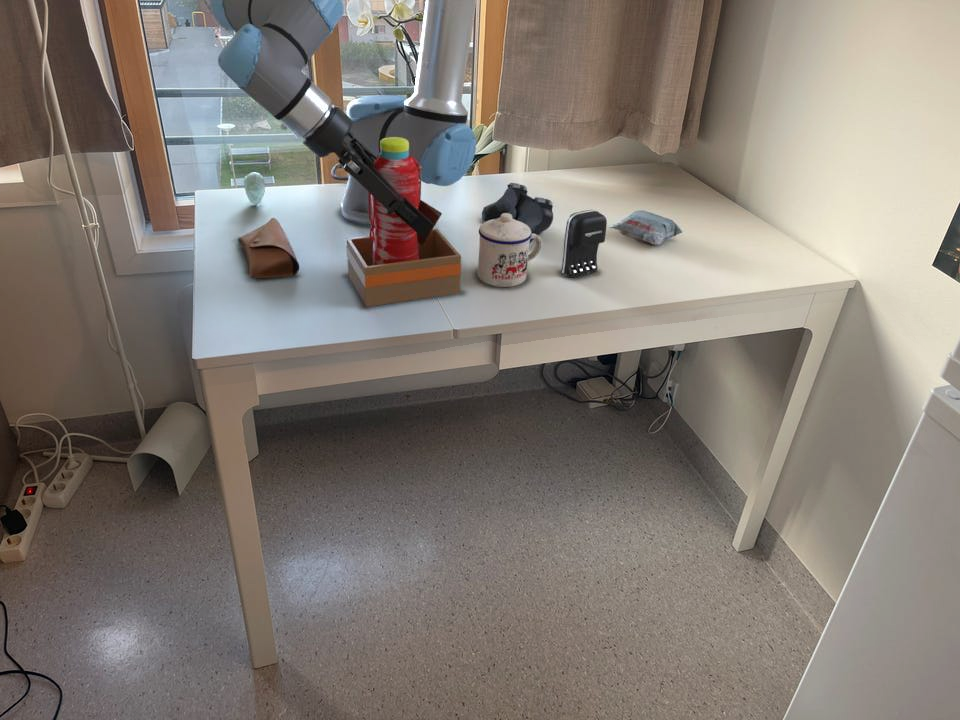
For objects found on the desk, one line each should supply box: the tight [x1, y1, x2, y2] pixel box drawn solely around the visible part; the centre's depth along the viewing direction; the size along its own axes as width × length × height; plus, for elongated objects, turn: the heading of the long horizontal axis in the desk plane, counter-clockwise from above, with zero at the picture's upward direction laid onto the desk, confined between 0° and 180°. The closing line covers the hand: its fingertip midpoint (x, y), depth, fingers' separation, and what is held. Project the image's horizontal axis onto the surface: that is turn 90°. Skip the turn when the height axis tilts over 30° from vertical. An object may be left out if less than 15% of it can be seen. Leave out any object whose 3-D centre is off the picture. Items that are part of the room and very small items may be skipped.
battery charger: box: [560, 209, 608, 278], centre depth 132 cm, size 7×4×11 cm, turn 120°
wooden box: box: [345, 228, 462, 308], centre depth 126 cm, size 12×16×7 cm
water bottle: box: [368, 137, 443, 265], centre depth 122 cm, size 12×8×25 cm, turn 121°
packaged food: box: [609, 209, 683, 246], centre depth 149 cm, size 9×12×5 cm
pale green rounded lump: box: [243, 171, 266, 206], centre depth 153 cm, size 8×4×7 cm, turn 24°
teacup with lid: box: [477, 213, 543, 288], centre depth 130 cm, size 12×9×12 cm
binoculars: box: [481, 182, 554, 244], centre depth 149 cm, size 16×7×10 cm, turn 32°
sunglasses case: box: [237, 217, 300, 279], centre depth 134 cm, size 18×7×7 cm, turn 23°
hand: (423, 220), depth 123 cm, fingers open, 8 cm apart
